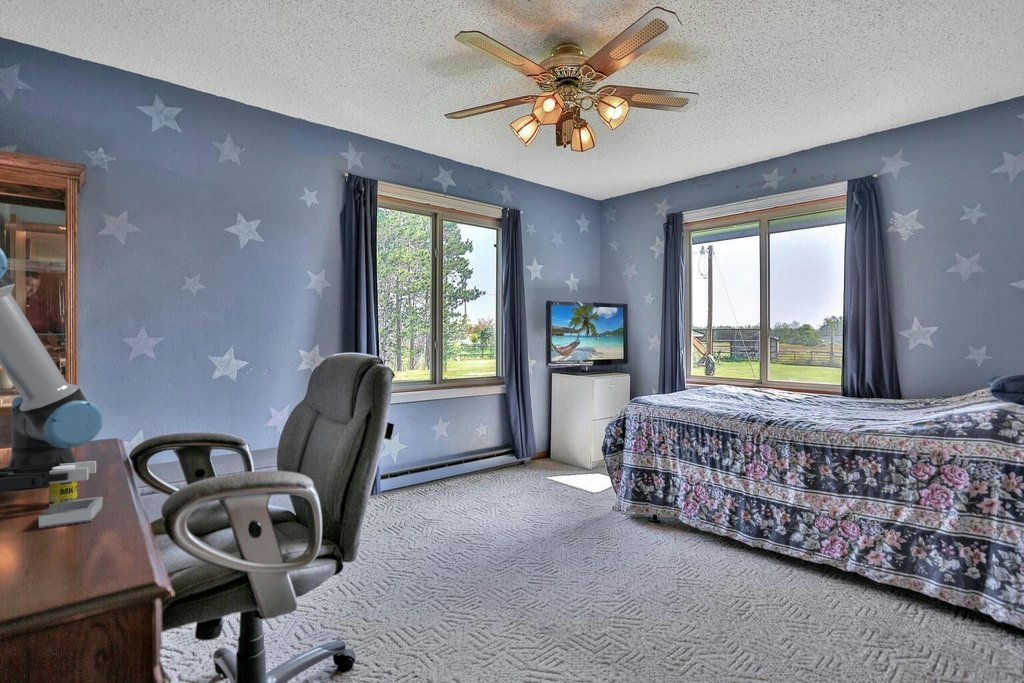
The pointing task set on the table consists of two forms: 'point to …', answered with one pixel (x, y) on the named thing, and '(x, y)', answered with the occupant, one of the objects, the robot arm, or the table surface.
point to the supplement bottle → (62, 488)
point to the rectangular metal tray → (71, 512)
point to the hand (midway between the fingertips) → (91, 470)
